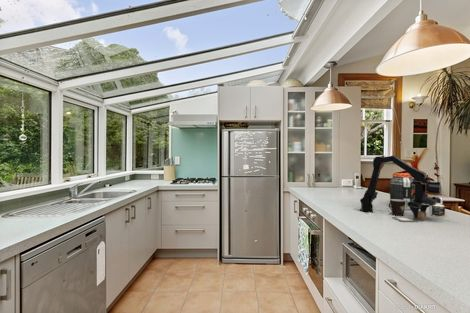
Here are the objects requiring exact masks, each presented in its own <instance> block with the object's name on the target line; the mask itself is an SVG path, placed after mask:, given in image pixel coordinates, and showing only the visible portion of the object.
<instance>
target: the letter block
mask: <svg viewBox="0 0 470 313" xmlns="http://www.w3.org/2000/svg"><path fill="white" fill-rule="evenodd" d="M412 214H413V213H412ZM412 219H414V220H416V221H418V222H425V221H427V211H426V212H422V211H420V210H419V211H418V217H417V218H415V216H414V214H413V218H412Z"/></svg>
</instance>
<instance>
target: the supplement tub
mask: <svg viewBox="0 0 470 313" xmlns="http://www.w3.org/2000/svg"><path fill="white" fill-rule="evenodd" d="M414 180H415V179H414V178H413V177H412V176H411V175H410V174H409V173H406V172H405V173H403V172H402V173H400V172H399V173H398V172H396V173H395V172H394V173H392V177H391V179H390V180H389V183H390V184H389V203H391V199H400V200H405V201H406V202H405V209H404V211H406V210H407V211H408V210H409V211H410V210H411V209H410V207H409V206H408V202H409V201H413V200H414V195H413V193H414V190H415V184H411V183H412V182H413V181H414ZM390 207H391V204H390Z"/></svg>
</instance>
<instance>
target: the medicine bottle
mask: <svg viewBox="0 0 470 313" xmlns="http://www.w3.org/2000/svg"><path fill="white" fill-rule="evenodd" d="M435 197H436V198H437V203H436V204H435V205H433V206H429V207H428V214H429V215H430V216H431V217H441V218H445V217H446V206H445V205H444V202H443V198H442V197H437V196H435Z"/></svg>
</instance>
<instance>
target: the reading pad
mask: <svg viewBox="0 0 470 313" xmlns="http://www.w3.org/2000/svg"><path fill="white" fill-rule="evenodd" d="M391 219H393V220H396V221H397V220H398V221H397V222H399V223H400V222H401V223H419V220H414V219H413V218H410V217H408V216H392V217H391Z"/></svg>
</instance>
